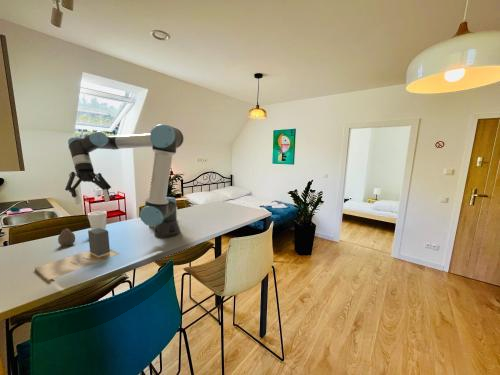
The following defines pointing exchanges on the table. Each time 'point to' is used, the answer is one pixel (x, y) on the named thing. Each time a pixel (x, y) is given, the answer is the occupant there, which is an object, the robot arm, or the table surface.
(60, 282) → the table surface
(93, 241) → the block
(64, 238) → the vase
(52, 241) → the table surface
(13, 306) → the table surface
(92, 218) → the foam cup
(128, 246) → the table surface
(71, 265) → the board
